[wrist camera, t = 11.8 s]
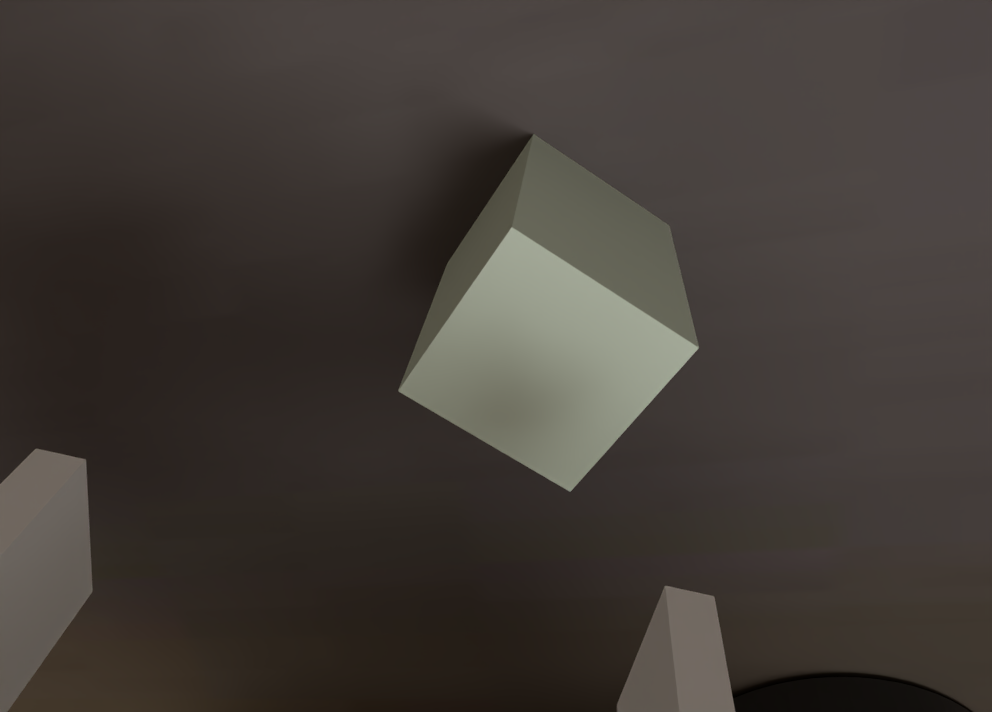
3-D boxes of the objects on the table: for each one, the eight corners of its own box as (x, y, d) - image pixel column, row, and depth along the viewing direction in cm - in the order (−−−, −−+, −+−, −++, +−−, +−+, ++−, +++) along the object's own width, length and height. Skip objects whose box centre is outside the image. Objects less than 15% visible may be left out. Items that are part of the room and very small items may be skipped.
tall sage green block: (574, 343, 28) (570, 491, 21) (447, 263, 27) (397, 391, 20) (669, 225, 26) (698, 347, 19) (533, 133, 25) (512, 226, 18)
